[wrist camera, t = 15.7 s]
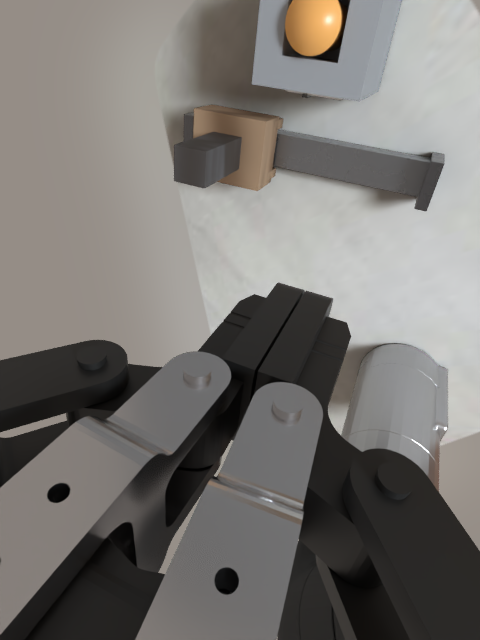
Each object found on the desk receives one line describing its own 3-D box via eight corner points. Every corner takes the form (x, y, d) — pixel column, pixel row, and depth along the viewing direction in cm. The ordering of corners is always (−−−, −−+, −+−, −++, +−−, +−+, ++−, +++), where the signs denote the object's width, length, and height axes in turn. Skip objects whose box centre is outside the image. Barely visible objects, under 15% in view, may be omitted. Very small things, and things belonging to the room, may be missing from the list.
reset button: (361, -2, 29) (346, -12, 24) (348, 58, 31) (333, 59, 26) (312, -7, 30) (290, -17, 25) (303, 52, 32) (281, 52, 27)
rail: (444, 154, 36) (444, 163, 33) (427, 198, 38) (426, 211, 35) (203, 109, 42) (184, 114, 39) (201, 150, 45) (183, 157, 42)
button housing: (409, -29, 31) (397, -56, 23) (376, 98, 36) (357, 111, 28) (308, -36, 33) (266, -63, 25) (290, 85, 38) (250, 93, 30)
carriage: (283, 115, 39) (233, 134, 29) (274, 178, 42) (226, 213, 33) (217, 103, 40) (150, 117, 31) (214, 165, 44) (152, 194, 35)
